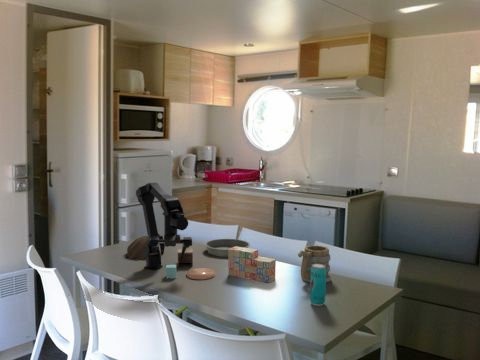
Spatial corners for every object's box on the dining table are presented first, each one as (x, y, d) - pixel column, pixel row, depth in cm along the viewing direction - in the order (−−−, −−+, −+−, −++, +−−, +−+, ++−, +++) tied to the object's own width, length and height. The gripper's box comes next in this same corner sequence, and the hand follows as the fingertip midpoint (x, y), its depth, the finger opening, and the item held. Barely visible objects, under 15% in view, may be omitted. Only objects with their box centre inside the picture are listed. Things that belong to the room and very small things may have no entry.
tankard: (313, 272, 218) (313, 241, 216) (336, 279, 209) (337, 246, 207) (285, 282, 204) (286, 248, 202) (308, 289, 195) (309, 254, 193)
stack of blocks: (275, 279, 208) (276, 252, 207) (268, 283, 203) (269, 255, 201) (235, 271, 219) (235, 245, 218) (227, 274, 214) (228, 248, 213)
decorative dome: (152, 247, 261) (152, 230, 260) (170, 255, 246) (170, 236, 245) (119, 253, 249) (119, 235, 248) (136, 261, 234) (136, 242, 233)
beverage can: (308, 301, 181) (309, 263, 180) (322, 300, 182) (324, 263, 180) (311, 306, 176) (312, 267, 174) (326, 306, 176) (328, 267, 175)
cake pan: (250, 258, 242) (250, 249, 242) (202, 257, 243) (202, 249, 242) (249, 246, 267) (250, 238, 266) (206, 245, 267) (206, 238, 267)
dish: (181, 276, 210) (181, 273, 210) (197, 269, 222) (197, 266, 222) (205, 281, 204) (205, 278, 204) (220, 273, 215) (220, 270, 215)
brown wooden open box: (177, 266, 225) (177, 252, 225) (178, 262, 232) (177, 248, 232) (192, 266, 226) (192, 252, 225) (192, 262, 233) (192, 248, 232)
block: (166, 278, 208) (166, 267, 207) (166, 275, 212) (166, 264, 211) (176, 278, 208) (176, 267, 208) (176, 275, 212) (176, 264, 212)
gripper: (147, 230, 199) (148, 266, 200) (192, 229, 201) (192, 265, 202) (150, 225, 210) (150, 259, 211) (192, 224, 212) (192, 258, 213)
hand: (171, 260), depth 209 cm, fingers open, 9 cm apart
